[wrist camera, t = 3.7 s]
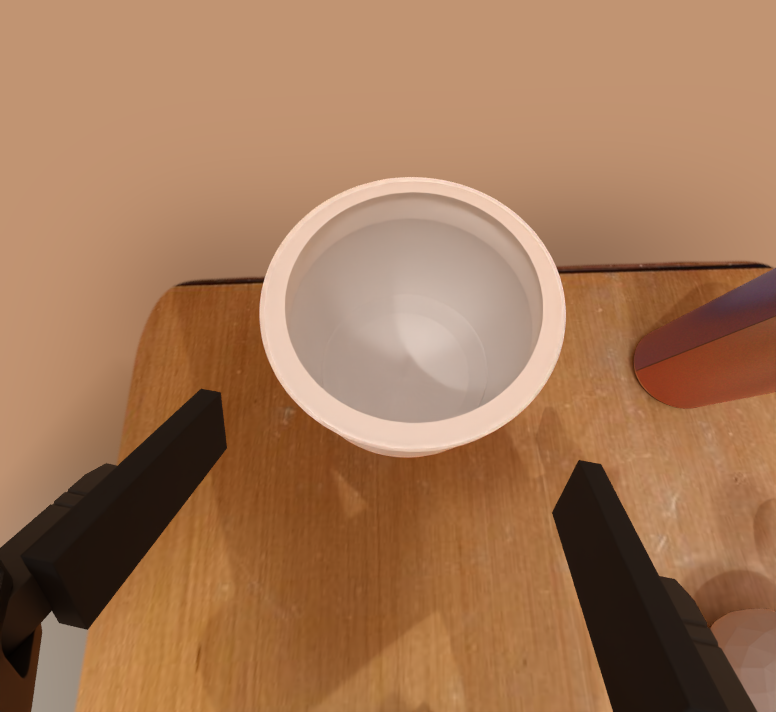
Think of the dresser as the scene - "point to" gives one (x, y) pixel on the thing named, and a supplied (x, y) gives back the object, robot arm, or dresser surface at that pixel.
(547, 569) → the dresser surface
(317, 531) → the dresser surface
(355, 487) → the dresser surface
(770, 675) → the perfume bottle
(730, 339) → the beverage can
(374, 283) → the jar
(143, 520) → the robot arm
